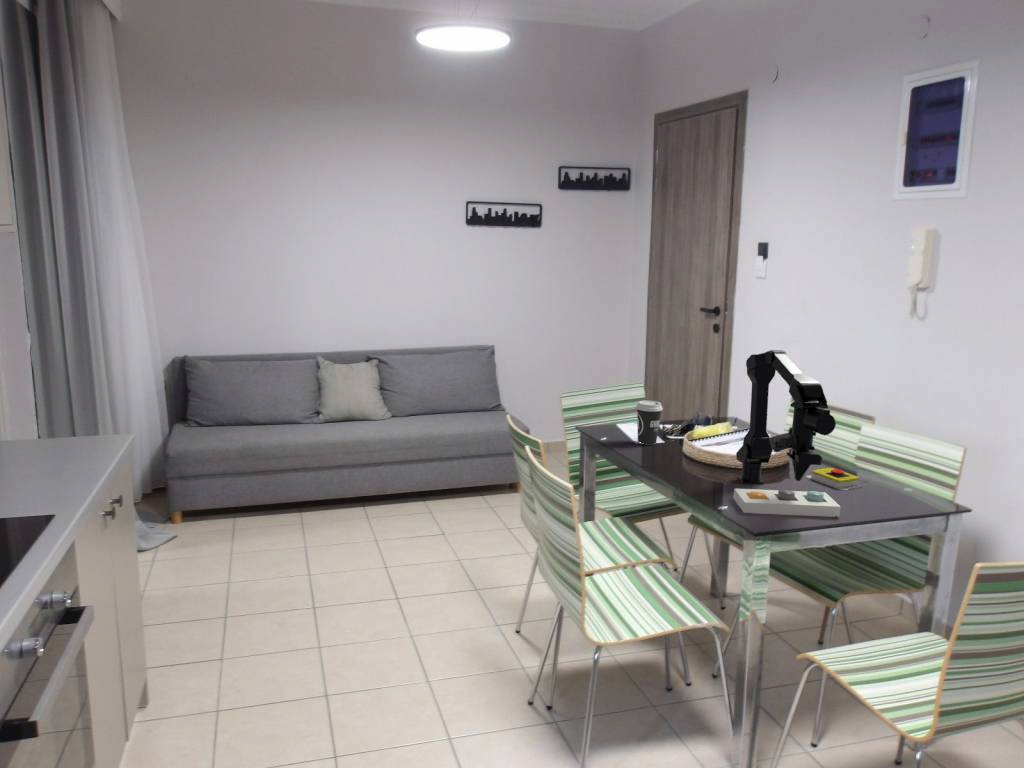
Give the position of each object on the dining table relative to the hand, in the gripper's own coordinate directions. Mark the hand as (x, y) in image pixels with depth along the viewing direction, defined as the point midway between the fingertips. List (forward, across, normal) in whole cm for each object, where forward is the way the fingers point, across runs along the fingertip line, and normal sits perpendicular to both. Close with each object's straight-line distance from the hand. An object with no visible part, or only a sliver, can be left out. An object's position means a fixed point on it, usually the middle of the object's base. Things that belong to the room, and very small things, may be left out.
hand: (797, 480), depth 222 cm
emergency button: (+9, -28, +20) cm, 35 cm away
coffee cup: (+8, -63, -35) cm, 73 cm away
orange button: (+7, 0, -11) cm, 13 cm away
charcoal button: (+6, 0, -3) cm, 7 cm away
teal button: (+6, 0, +5) cm, 8 cm away
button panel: (+8, 0, -3) cm, 9 cm away
